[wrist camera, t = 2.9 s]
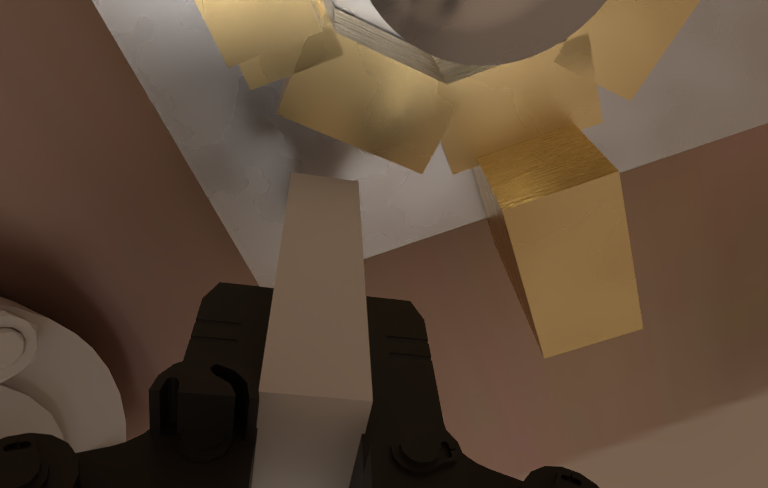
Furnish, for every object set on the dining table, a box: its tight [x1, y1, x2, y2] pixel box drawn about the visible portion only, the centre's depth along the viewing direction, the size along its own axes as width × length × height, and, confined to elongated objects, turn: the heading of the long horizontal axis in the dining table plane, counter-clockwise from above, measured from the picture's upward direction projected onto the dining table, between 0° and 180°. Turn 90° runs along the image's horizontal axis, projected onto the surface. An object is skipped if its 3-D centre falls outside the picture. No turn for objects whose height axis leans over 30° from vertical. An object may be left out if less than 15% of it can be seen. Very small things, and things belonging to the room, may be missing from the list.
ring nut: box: [194, 0, 700, 359], centre depth 12 cm, size 14×10×5 cm
